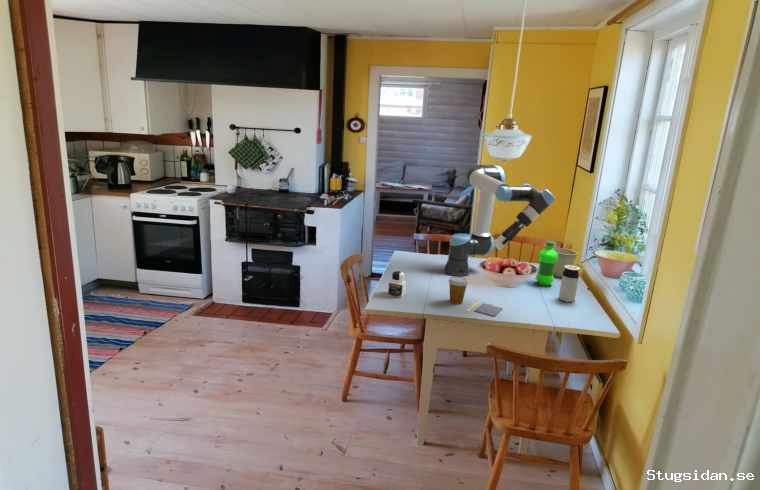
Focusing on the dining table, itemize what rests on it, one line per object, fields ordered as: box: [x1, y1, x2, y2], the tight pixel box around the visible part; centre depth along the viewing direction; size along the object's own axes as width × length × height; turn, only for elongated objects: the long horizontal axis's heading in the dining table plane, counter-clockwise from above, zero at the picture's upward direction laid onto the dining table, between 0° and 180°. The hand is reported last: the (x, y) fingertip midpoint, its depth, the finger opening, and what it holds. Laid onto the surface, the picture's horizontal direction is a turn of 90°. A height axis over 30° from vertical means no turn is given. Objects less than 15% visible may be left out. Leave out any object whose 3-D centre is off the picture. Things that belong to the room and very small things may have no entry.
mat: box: [474, 302, 504, 317], centre depth 234 cm, size 10×12×1 cm
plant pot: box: [553, 247, 578, 278], centre depth 295 cm, size 15×15×16 cm
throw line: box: [465, 301, 481, 313], centre depth 237 cm, size 1×16×1 cm, turn 149°
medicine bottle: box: [387, 271, 407, 299], centre depth 245 cm, size 7×7×12 cm
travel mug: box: [558, 265, 581, 303], centre depth 254 cm, size 8×8×18 cm
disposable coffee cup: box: [448, 276, 469, 305], centre depth 241 cm, size 10×10×12 cm
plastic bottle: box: [535, 241, 558, 287], centre depth 275 cm, size 10×10×25 cm
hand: (495, 247), depth 240 cm, fingers open, 13 cm apart
